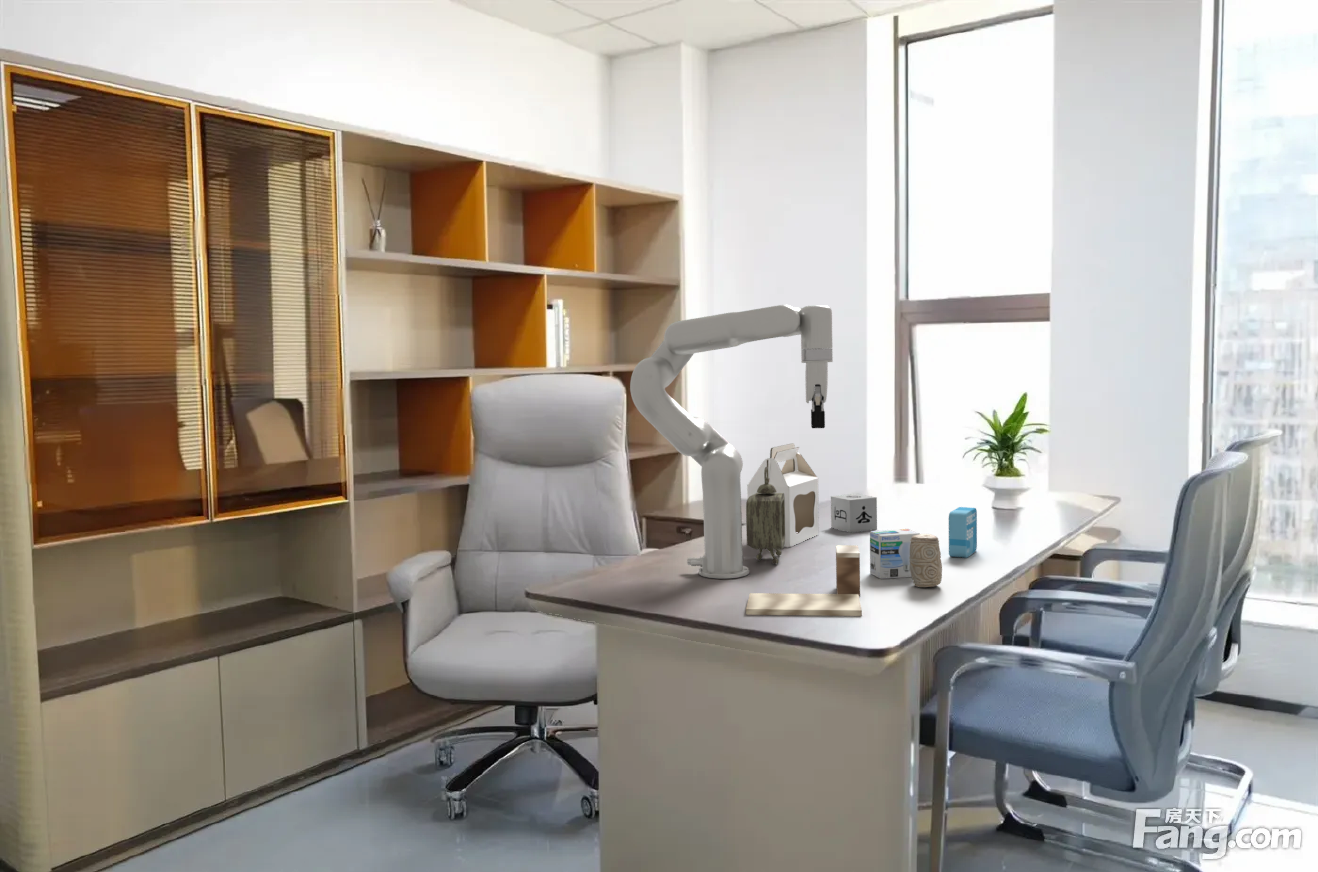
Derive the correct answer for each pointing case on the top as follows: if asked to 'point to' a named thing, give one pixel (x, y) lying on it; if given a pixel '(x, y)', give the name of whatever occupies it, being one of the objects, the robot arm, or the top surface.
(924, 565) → the carving
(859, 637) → the top surface
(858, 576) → the walnut block
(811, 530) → the gable box
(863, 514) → the icon cube
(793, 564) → the top surface
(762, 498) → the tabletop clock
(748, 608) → the birch board
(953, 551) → the data package
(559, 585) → the top surface
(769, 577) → the top surface
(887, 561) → the light bulb box
